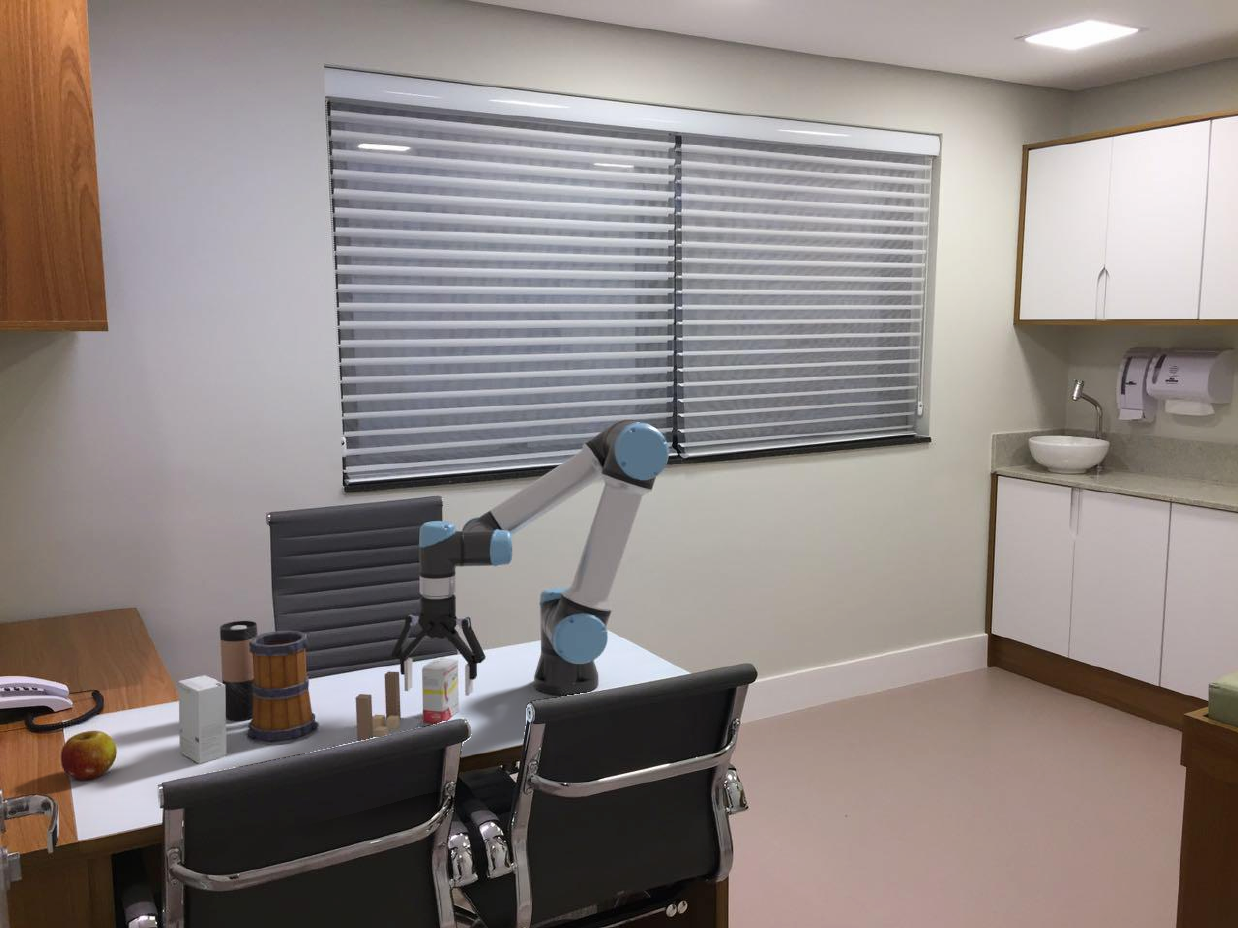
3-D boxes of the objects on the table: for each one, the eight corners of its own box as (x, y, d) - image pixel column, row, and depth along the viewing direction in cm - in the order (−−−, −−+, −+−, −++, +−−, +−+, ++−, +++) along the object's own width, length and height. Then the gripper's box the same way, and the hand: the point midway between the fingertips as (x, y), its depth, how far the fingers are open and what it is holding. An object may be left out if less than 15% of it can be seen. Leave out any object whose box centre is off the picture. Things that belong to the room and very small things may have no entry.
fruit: (50, 780, 189) (46, 739, 188) (90, 761, 197) (88, 722, 196) (88, 788, 185) (85, 746, 184) (128, 769, 194) (126, 728, 193)
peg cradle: (422, 725, 214) (420, 673, 213) (392, 756, 198) (390, 699, 197) (368, 722, 216) (366, 670, 215) (334, 752, 201) (332, 696, 199)
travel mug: (269, 710, 224) (264, 622, 221) (245, 723, 216) (241, 631, 214) (240, 707, 226) (235, 619, 224) (216, 719, 219) (211, 628, 217)
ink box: (443, 724, 215) (441, 670, 213) (421, 722, 216) (420, 668, 215) (460, 710, 223) (459, 658, 222) (439, 708, 224) (438, 656, 223)
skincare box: (179, 754, 200) (174, 680, 199) (208, 744, 205) (204, 673, 203) (200, 765, 195) (196, 690, 193) (230, 755, 200) (226, 681, 198)
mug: (270, 710, 224) (265, 621, 222) (335, 710, 223) (331, 621, 221) (234, 745, 205) (229, 648, 202) (305, 745, 204) (301, 648, 202)
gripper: (499, 593, 218) (499, 689, 220) (389, 587, 222) (390, 681, 225) (488, 602, 210) (489, 701, 213) (375, 595, 215) (376, 692, 217)
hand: (438, 691), depth 219 cm, fingers open, 13 cm apart
